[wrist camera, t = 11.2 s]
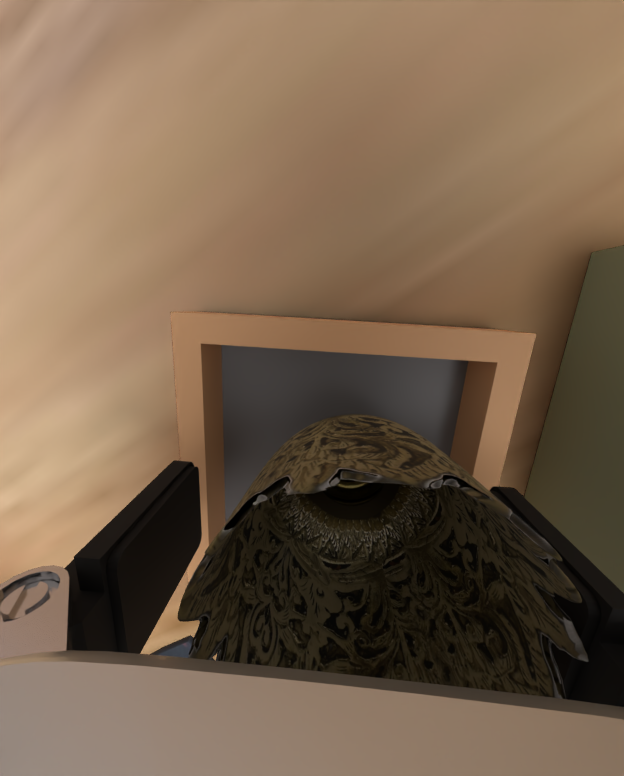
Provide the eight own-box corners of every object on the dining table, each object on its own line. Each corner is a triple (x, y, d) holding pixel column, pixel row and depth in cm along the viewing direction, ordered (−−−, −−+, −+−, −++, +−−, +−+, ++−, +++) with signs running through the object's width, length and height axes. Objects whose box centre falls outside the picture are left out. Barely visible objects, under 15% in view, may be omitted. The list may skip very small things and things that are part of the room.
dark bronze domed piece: (326, 551, 14) (322, 826, 7) (232, 435, 13) (95, 611, 5) (465, 476, 13) (663, 718, 5) (375, 338, 12) (463, 392, 4)
